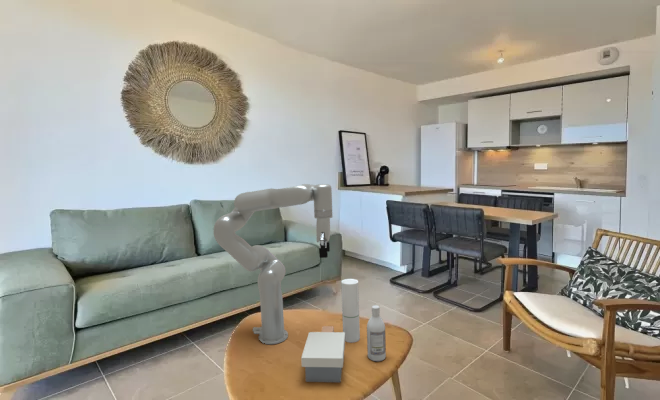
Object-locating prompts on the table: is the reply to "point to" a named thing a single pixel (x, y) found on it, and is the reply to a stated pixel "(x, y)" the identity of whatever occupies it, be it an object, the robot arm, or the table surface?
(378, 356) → the bath foam
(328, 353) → the lid
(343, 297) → the cylindrical container
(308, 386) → the table surface
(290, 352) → the table surface
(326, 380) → the tub
